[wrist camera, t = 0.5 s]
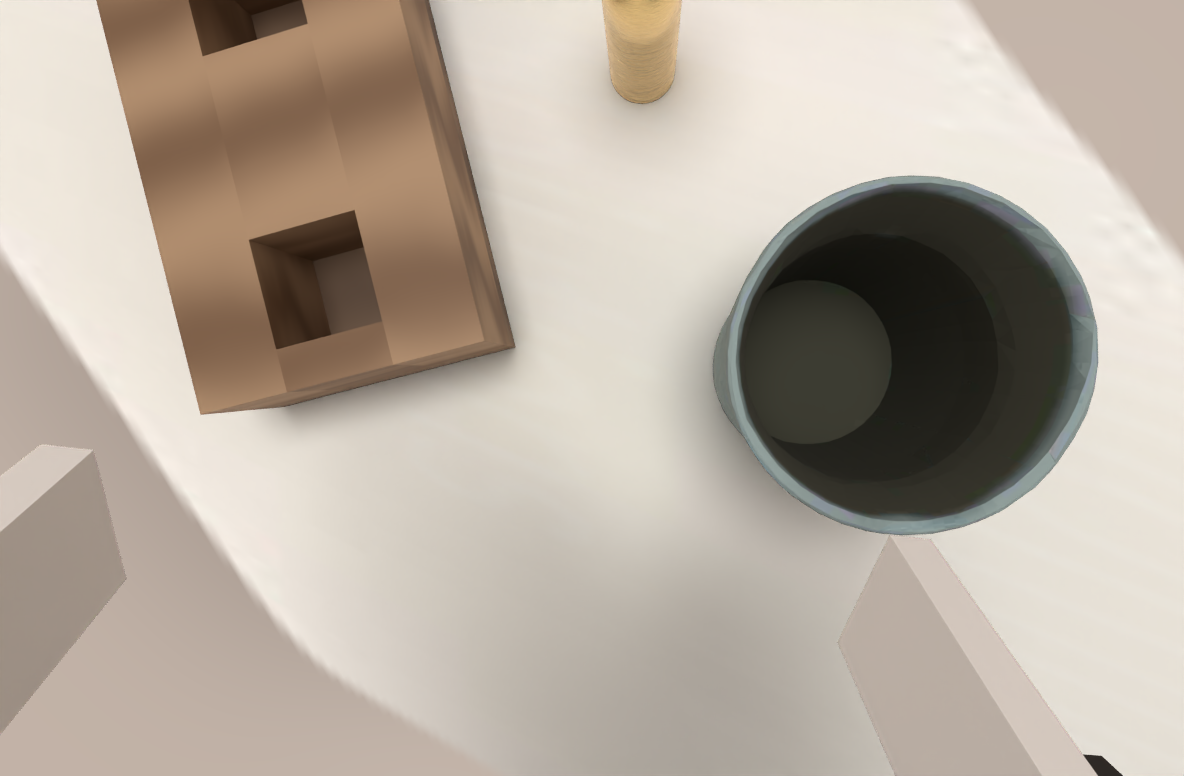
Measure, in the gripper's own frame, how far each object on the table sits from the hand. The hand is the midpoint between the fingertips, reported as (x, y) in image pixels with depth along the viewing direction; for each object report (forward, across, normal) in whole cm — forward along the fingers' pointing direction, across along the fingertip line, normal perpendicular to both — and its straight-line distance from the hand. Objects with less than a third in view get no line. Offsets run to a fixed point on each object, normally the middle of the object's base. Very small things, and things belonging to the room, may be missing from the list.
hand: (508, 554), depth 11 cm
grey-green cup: (+18, -13, +4) cm, 23 cm away
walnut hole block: (+24, +10, 0) cm, 26 cm away
